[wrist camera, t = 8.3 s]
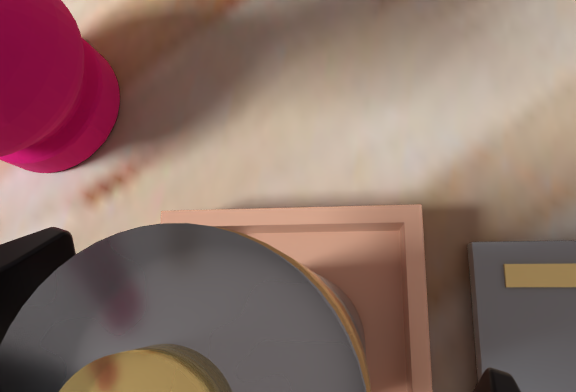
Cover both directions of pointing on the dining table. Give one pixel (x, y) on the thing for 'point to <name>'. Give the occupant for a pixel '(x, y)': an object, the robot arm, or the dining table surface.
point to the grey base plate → (525, 311)
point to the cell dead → (185, 320)
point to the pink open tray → (355, 273)
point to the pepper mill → (51, 88)
